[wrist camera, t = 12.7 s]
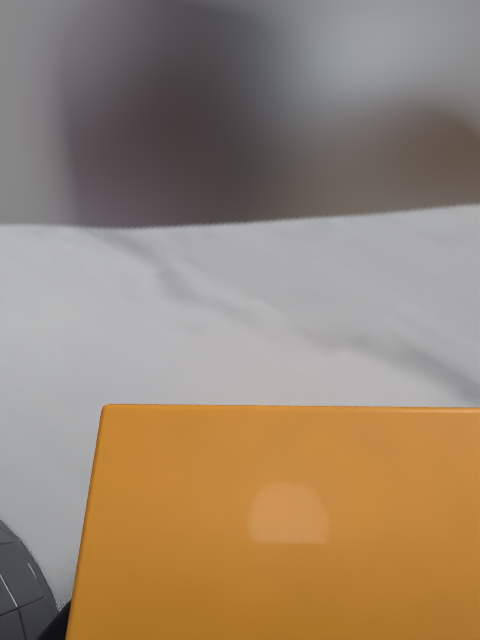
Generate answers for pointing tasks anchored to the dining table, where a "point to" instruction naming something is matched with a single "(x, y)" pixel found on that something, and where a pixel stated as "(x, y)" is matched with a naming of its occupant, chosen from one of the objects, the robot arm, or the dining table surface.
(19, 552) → the pan
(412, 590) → the cheese
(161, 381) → the dining table surface
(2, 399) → the dining table surface
